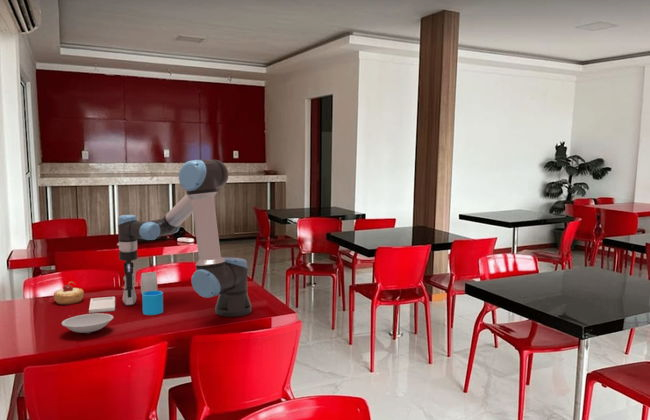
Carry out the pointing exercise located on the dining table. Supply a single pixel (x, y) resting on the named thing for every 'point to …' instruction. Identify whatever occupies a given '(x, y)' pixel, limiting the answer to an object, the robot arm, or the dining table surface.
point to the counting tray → (102, 304)
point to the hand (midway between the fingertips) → (129, 301)
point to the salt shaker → (125, 291)
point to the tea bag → (148, 282)
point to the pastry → (68, 295)
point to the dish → (87, 322)
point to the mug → (152, 302)
